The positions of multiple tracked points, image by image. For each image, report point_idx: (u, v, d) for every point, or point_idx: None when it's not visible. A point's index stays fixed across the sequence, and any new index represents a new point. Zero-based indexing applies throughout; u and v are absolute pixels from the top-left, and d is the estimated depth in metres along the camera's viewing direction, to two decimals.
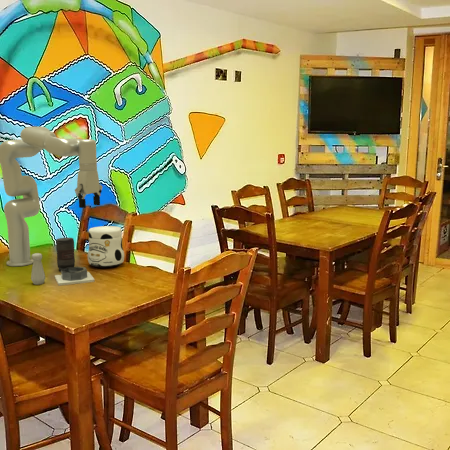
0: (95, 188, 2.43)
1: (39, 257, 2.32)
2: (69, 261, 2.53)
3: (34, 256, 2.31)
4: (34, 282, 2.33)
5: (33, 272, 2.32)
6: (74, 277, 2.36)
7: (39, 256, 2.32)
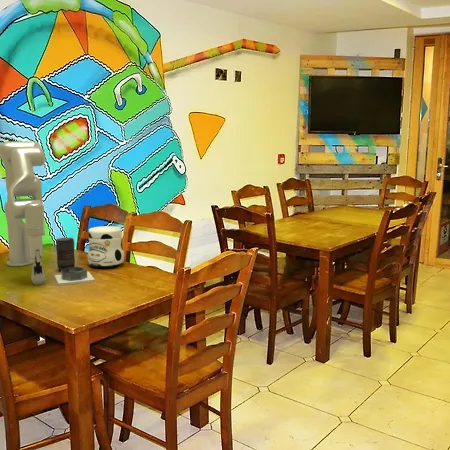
0: None
1: None
2: (69, 261, 2.53)
3: None
4: (34, 282, 2.33)
5: (33, 272, 2.32)
6: (74, 277, 2.36)
7: None
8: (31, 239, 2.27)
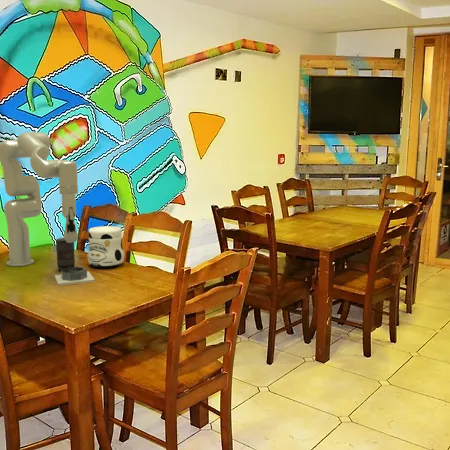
0: None
1: None
2: (69, 261, 2.53)
3: None
4: (67, 240, 2.36)
5: (66, 230, 2.35)
6: (74, 277, 2.36)
7: None
8: (65, 197, 2.30)
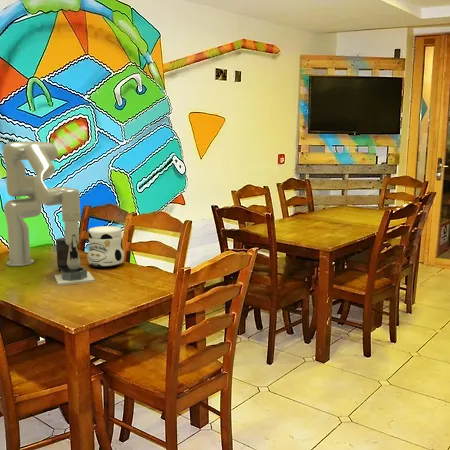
0: None
1: None
2: None
3: None
4: (70, 267, 2.38)
5: (69, 257, 2.37)
6: (74, 277, 2.36)
7: None
8: (68, 224, 2.32)
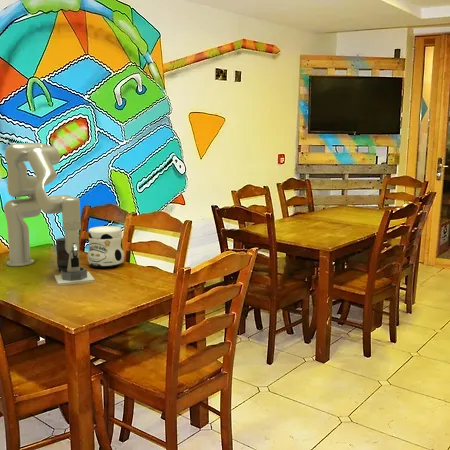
0: None
1: None
2: None
3: None
4: None
5: (69, 266, 2.38)
6: (74, 277, 2.36)
7: None
8: (68, 233, 2.33)
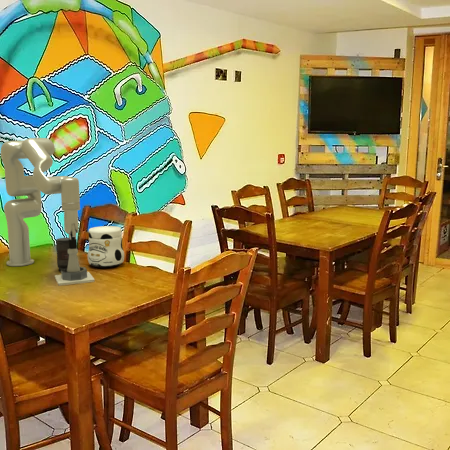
0: None
1: (75, 252, 2.38)
2: None
3: (70, 250, 2.37)
4: None
5: (69, 266, 2.38)
6: (74, 277, 2.36)
7: (75, 251, 2.38)
8: (67, 213, 2.31)
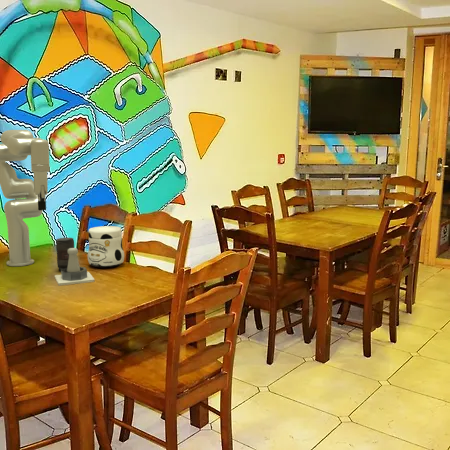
0: None
1: (75, 252, 2.38)
2: None
3: (70, 250, 2.37)
4: None
5: (69, 266, 2.38)
6: (74, 277, 2.36)
7: (75, 251, 2.38)
8: (36, 174, 2.34)
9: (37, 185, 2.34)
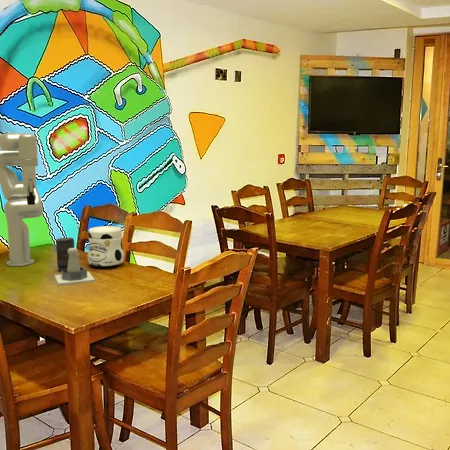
0: None
1: (75, 252, 2.38)
2: None
3: (70, 250, 2.37)
4: None
5: (69, 266, 2.38)
6: (74, 277, 2.36)
7: (75, 251, 2.38)
8: (24, 169, 2.36)
9: (25, 179, 2.36)
